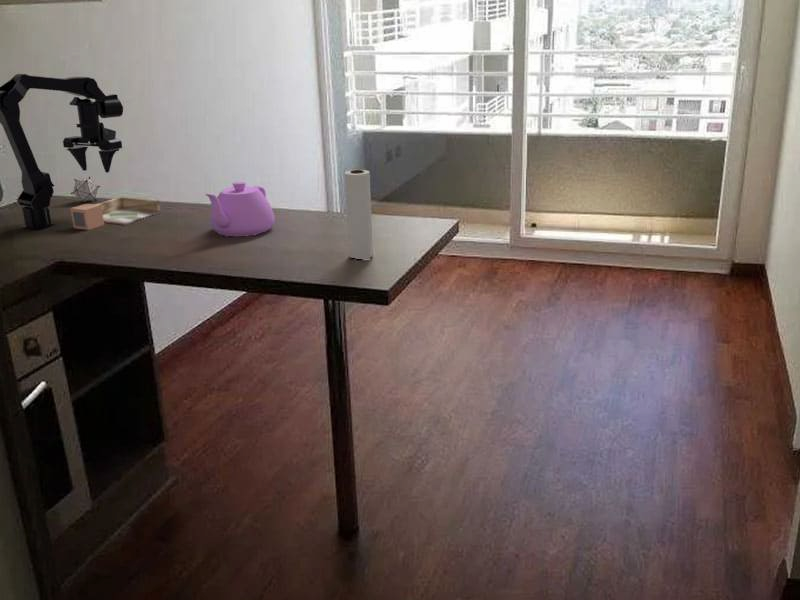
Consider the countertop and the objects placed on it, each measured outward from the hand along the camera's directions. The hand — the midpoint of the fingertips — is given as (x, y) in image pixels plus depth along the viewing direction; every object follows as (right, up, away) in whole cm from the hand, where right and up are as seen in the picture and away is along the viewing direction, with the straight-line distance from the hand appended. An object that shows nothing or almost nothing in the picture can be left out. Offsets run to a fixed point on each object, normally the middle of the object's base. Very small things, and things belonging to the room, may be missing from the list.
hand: (96, 171), depth 245 cm
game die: (-10, -7, +20) cm, 23 cm away
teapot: (+49, -20, -21) cm, 57 cm away
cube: (+2, -18, -12) cm, 22 cm away
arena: (+9, -14, -2) cm, 17 cm away
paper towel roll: (+84, -29, -48) cm, 101 cm away
